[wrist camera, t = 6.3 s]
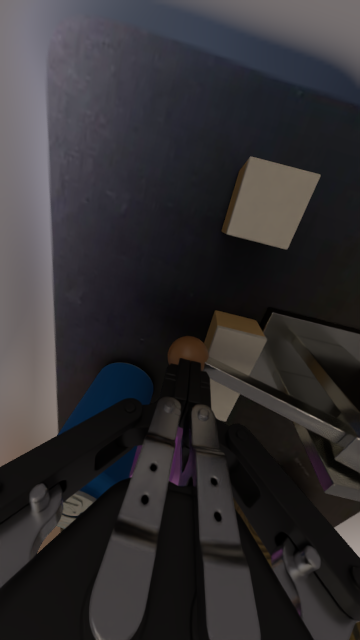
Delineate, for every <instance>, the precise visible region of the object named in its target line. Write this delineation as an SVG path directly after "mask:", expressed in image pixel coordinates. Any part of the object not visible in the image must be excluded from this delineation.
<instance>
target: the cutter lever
mask: <svg viewBox="0 0 360 640" xmlns="http://www.w3.org/2000/svg"><path fill="white" fill-rule="evenodd" d="M180 358H183V359H187V360H190V361H196V362H200V363H201V371H206V372H207V373H208V375H209V377H210V379H212V380H214V381H216V382H218V383H220V384H222V385H224V386H226V387H228V388H229V389H231V390H233V391H235V392H237V393H239V394H241V395H243V396H245V397H247V398H249V399H251V400H253V401H255V402H257V403H258V404H260V405H262V406H264V407H266V408H268V409H270V410H272V411H274V412H276V413H278V414H280V415H282V416H284V417H286V418H287V419H289V420H291V421H293V422H295V423H297V424H299V425H301V426H303V427H305V428H307V429H309V430H311V431H313V432H315V433H316V434H318V435H320V436H322V437H324V438H326V439H328V440H330V442H331V447H332V451H333V456H334V459H335V460H336V461H338V462H340V463H342V464H344V465H345V466H347V467H349V468H351V469H353V470H355V471H356V472H358V473H360V439H359V437H358V436H357V434H356V433H355V432H354V430H353V429H352V427H351V426H350V425H349V423H348V422H347V421H346V419H345V418H344V416H343V415H342V414H340V415H339V416H338V417H337V418H336V417H334V416H332V415H330V414H328V413H325V412H323V411H321V410H319V409H317V408H315V407H313V406H311V405H309V404H307V403H305V402H303V401H301V400H298V399H296V398H294V397H292V396H290V395H288V394H286V393H284V392H282V391H280V390H278V389H276V388H274V387H271V386H269V385H267V384H265V383H263V382H261V381H259V380H257V379H255V378H253V377H251V376H249V375H247V374H244V373H242V372H240V371H238V370H236V369H234V368H232V367H230V366H228V365H226V364H224V363H222V362H219V361H217V360H215V359H213V358H211V357H209V353H208V349H207V347H206V345H205V344H204V343H203V342H202V341H201V340H199V339H198V338H196V337H192V336H184V337H181V338H179V339H177V340H176V341H174V342H173V344H172V345H171V346H170V348H169V351H168V363H169V365H170V364H171V363H173V364H177V365H178V363H179V359H180Z"/></svg>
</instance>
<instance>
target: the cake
mask: <svg viewBox="0 0 360 640" xmlns="http://www.w3.org/2000/svg"><path fill="white" fill-rule="evenodd" d="M266 341H267V339H266V337H265V335H264V333H263V332H262V330H261V328H260V326H259V324H258V323H257V321H256V320H253V319H249V318H245V317H241V316H237V315H233V314H229V313H225V312H221V311H217V310H215V312H214V315H213V318H212V321H211V324H210V327H209V330H208V333H207V336H206V339H205V342H204V344H205V345H206V347H207V349H208V353H209V357H211V358H213V359H215V360H217V361H219V362H222V363H224V364H226V365H228V366H230V367H232V368H234V369H236V370H238V371H240V372H242V373H244V374H247V375H250V373H251V371H252V369H253V367H254V365H255V363H256V361H257V359H258V357H259V355H260V353H261V351H262V349H263V347H264V345H265V343H266ZM210 390H211V408H212V411H213V412H214V414H215V417H216V418H217V419H218V420H222V421H226V420H227V418H228V416H229V414H230V412H231V410H232V408H233V406H234V404H235V402H236V400H237V399H238V397H239V395H240V394H239V393H237V392H235V391H233V390H231V389H229V388H228V387H226V386H224V385H222V384H220V383H218V382H216V381H214V380H212V379H210Z"/></svg>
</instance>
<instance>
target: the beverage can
mask: <svg viewBox="0 0 360 640" xmlns="http://www.w3.org/2000/svg"><path fill="white" fill-rule="evenodd" d="M152 394H153V383H152V381H151V379H150V377H149V376H148V375H147V374H146V373H145V372H144V371H143V370H142V369H140V368H138V367H137V366H134V365H132V364H128V363H112V364H109V365H107V366H105V367H104V368H103V369H102V370H101V371H100V372H99V374H98V375H97V377H96V378H95V380H94V381H93V383H92V384H91V386H90V387H89V389H88V390H87V392H86V393H85V395H84V396H83V398H82V399H81V401H80V402H79V404H78V405H77V407H76V408H75V410H74V411H73V413H72V414H71V416H70V417H69V419H68V420H67V421H66V423H65V424H64V426H63V427H62V429H61V430H60V432H59V433H58V435H60V434H61V433H63V432H65V431H67V430H69V429H70V428H72V427H74V426H76V425H78V424H80V423H81V422H83V421H85V420H87V419H89V418H90V417H92V416H94V415H96V414H98V413H100V412H101V411H103V410H105V409H107V408H109V407H110V406H112V405H114V404H116V403H118V402H120V401H121V400H123V399H126V398H135V399H137V400H139V401H140V402H141V403H142V405H147V404H150V401H151V397H152ZM58 435H57V436H58ZM137 447H138V446H134V448H133V449H132V450H130V451H129V452H128V453H126V454H125V455H124V456H123V457H121V458H120V459H119V460H117V461H116V462H115V463H114V464H112V465H111V466H110V467H108V468H107V469H106V470H105V471H103V472H102V473H101V474H99V475H98V476H97V477H96V478H94V479H93V480H92V481H90V482H89V483H88V484H87V485H85V486H84V487H83V488H81V489H80V490H79V491H78V492H76V493H75V494H74V495H72V496H71V497H70V498H69V499H67V500H66V501H65V502H63V513H62V516H61V519H60V521H59V522H58V524H57V525H56V526H58V527H61V528H66V527H67V526H68V525H69V524H70V523H72V522H73V521H74V520H75V519H76V518H77V517H78V516H79V515H80V514H81V513H82V512H84V511H85V510H86V509H87V508H88V507H89V506H90V505H91V504H92V503H93V502H95V501H96V500H97V499H98V498H99V497H100V496H101V495H102V494H103V493H104V492H105V491H107V490H108V489H109V488H110V487H111V486H113V485H114V484H116V483H118V482H119V481H121V480H124V479H126V478H129V475H130V472H131V468H132V464H133V461H134V457H135V454H136V450H137Z"/></svg>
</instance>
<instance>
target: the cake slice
mask: <svg viewBox="0 0 360 640" xmlns="http://www.w3.org/2000/svg"><path fill="white" fill-rule="evenodd" d="M320 176H321V175H320V174H316V173H312V172H308V171H305V170H301V169H297V168H293V167H289V166H285V165H282V164H278V163H274V162H270V161H266V160H262V159H259V158H255V157H250V158H249V159H248V160H247V162H246V163H245V164H244V166H243V167H242V168H241V169H240V171H239V174H238V177H237V180H236V184H235V187H234V191H233V194H232V197H231V201H230V204H229V208H228V211H227V214H226V218H225V221H224V224H223V228H222V232H223V233H225V234H227V235H231V236H235V237H239V238H243V239H247V240H250V241H254V242H258V243H262V244H266V245H270V246H274V247H278V248H282V249H286V250H287V249H288V247H289V245H290V242H291V240H292V238H293V236H294V234H295V231H296V229H297V227H298V225H299V222H300V220H301V218H302V216H303V214H304V211H305V209H306V207H307V205H308V202H309V200H310V198H311V196H312V194H313V191H314V189H315V187H316V185H317V182H318V180H319V178H320Z"/></svg>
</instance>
